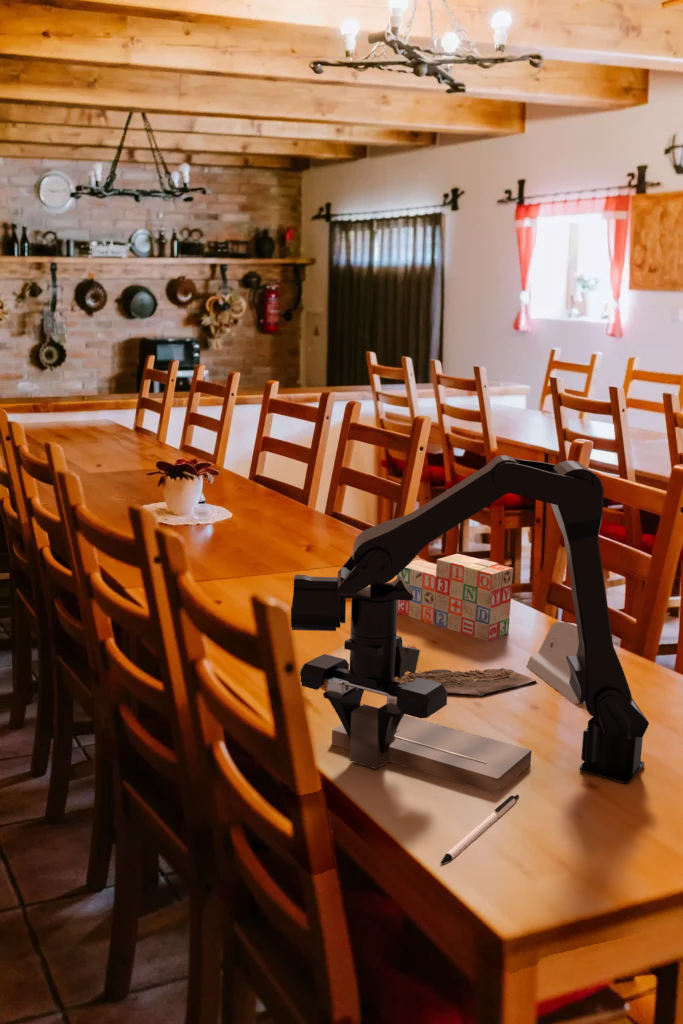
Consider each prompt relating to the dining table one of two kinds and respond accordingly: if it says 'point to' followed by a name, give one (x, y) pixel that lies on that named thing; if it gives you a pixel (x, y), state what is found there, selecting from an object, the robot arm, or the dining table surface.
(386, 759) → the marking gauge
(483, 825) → the pen
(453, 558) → the stack of blocks
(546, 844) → the dining table surface
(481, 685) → the wooden fragment
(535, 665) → the beige ledged stand
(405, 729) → the gray rectangular board
